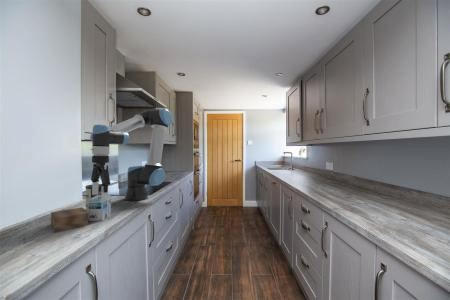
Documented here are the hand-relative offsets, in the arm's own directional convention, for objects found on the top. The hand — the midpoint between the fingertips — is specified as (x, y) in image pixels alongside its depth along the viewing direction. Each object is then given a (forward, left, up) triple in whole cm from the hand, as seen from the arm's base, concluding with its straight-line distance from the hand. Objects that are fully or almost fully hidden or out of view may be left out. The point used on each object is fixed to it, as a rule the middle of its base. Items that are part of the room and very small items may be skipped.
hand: (99, 196), depth 105 cm
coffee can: (-3, -16, -11) cm, 20 cm away
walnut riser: (+13, +1, -11) cm, 17 cm away
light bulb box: (0, 0, -11) cm, 11 cm away
